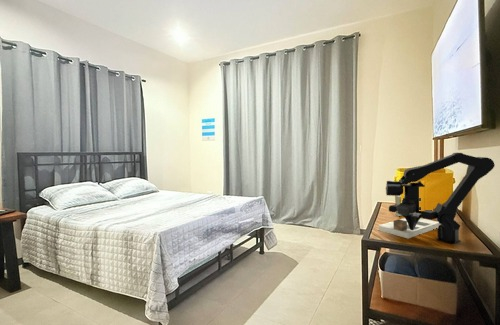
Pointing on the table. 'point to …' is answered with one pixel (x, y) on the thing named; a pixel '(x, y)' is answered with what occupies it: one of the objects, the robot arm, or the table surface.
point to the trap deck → (420, 228)
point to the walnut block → (400, 225)
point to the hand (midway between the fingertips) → (411, 230)
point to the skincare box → (397, 201)
